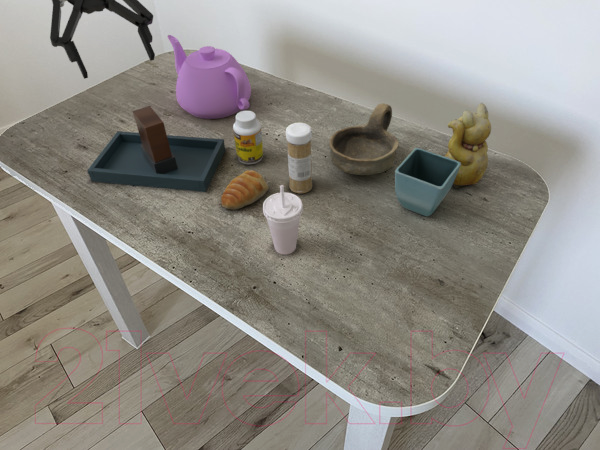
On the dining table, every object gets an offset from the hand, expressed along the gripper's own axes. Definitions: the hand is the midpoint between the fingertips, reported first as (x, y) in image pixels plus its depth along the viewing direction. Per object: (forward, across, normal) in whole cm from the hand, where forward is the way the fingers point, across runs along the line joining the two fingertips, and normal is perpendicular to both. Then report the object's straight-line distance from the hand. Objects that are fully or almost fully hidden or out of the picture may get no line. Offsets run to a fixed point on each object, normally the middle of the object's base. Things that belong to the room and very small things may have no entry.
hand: (120, 66), depth 96 cm
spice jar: (+36, -20, +13) cm, 44 cm away
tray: (+21, 0, -3) cm, 21 cm away
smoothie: (+45, -10, +21) cm, 50 cm away
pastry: (+34, -10, +10) cm, 37 cm away
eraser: (+20, 0, -2) cm, 20 cm away
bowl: (+37, -36, +13) cm, 53 cm away
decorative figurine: (+47, -48, +24) cm, 71 cm away
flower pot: (+48, -36, +25) cm, 65 cm away
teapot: (+8, -20, -15) cm, 26 cm away
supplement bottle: (+26, -17, +3) cm, 32 cm away
